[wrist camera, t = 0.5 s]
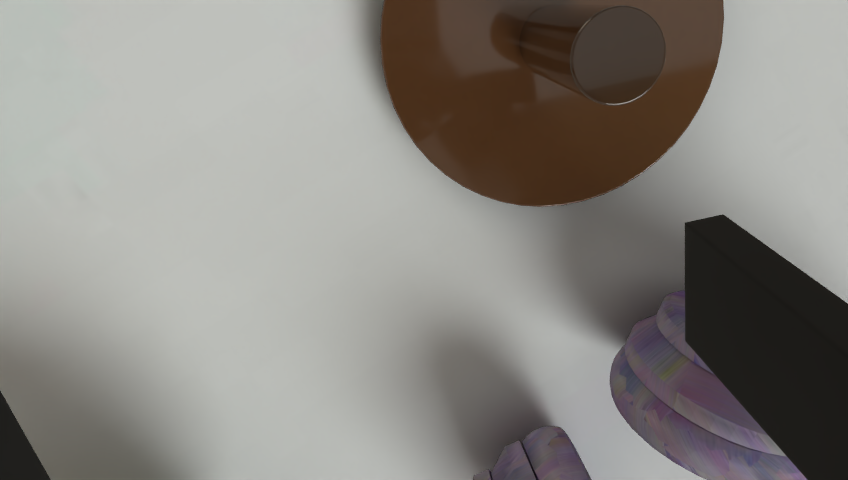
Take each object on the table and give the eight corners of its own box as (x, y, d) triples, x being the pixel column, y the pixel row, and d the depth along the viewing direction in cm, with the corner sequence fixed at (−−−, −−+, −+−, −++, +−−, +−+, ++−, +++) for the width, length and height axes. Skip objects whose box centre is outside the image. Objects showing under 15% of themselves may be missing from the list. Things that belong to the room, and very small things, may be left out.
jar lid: (530, -235, 23) (609, -364, 15) (777, 9, 26) (955, 13, 18) (313, 70, 26) (280, 101, 18) (559, 256, 29) (626, 356, 21)
